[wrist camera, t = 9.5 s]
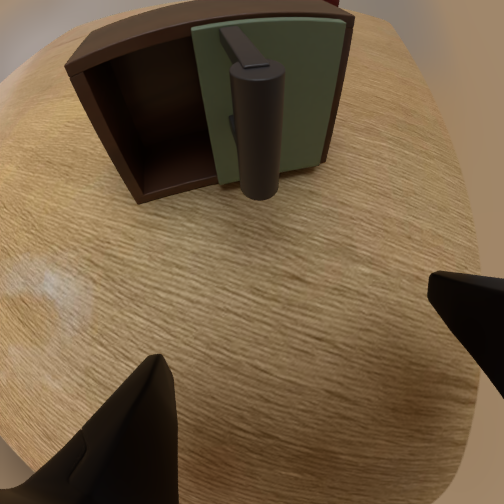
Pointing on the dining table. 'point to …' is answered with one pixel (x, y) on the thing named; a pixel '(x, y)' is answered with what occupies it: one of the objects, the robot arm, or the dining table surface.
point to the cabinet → (169, 89)
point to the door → (267, 95)
